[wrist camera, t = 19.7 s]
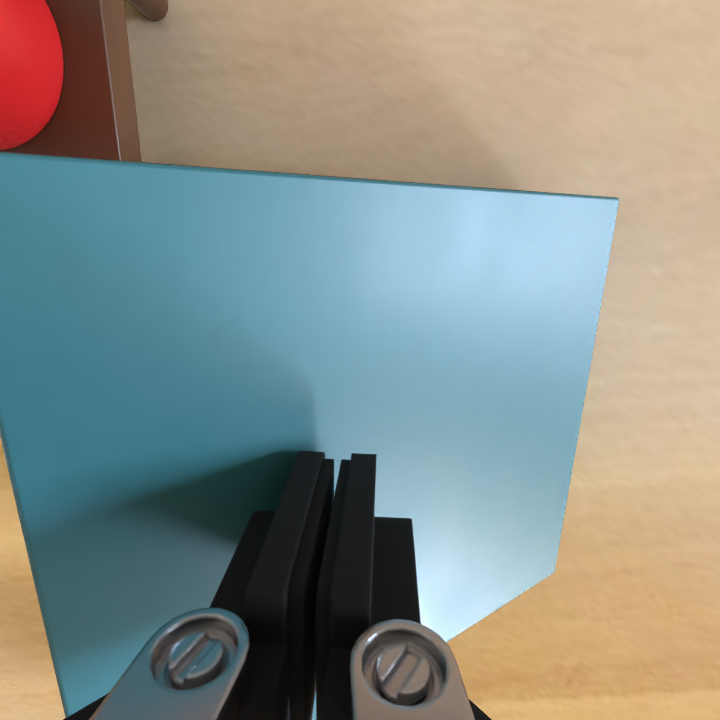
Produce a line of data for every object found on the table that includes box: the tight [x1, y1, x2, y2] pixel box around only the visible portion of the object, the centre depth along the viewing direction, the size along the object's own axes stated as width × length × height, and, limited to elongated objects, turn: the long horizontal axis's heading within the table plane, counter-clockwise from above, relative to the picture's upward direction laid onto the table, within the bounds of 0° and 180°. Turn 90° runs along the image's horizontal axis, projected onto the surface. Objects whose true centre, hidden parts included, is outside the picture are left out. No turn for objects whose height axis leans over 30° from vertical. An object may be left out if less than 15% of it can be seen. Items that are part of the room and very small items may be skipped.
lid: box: [0, 152, 619, 720], centre depth 12 cm, size 15×14×1 cm
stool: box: [0, 0, 168, 162], centre depth 18 cm, size 9×9×6 cm
